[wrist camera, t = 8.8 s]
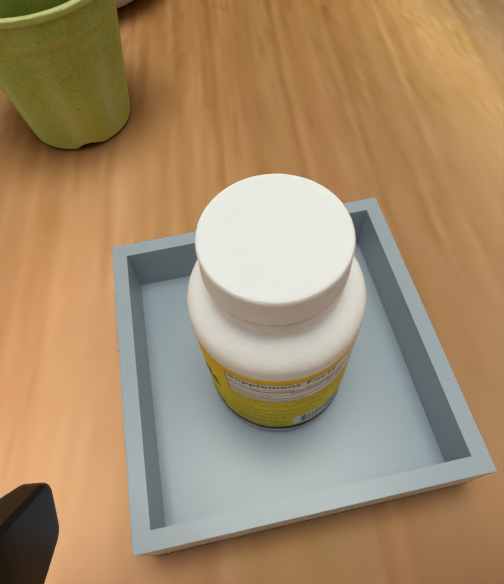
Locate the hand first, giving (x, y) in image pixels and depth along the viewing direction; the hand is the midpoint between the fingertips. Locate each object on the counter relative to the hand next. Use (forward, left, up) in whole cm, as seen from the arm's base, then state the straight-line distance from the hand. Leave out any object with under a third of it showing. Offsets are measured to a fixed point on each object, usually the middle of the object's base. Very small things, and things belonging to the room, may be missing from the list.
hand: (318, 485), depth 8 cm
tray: (+6, -1, -11) cm, 13 cm away
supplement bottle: (+6, -1, -11) cm, 12 cm away
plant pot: (+25, +7, -11) cm, 28 cm away
